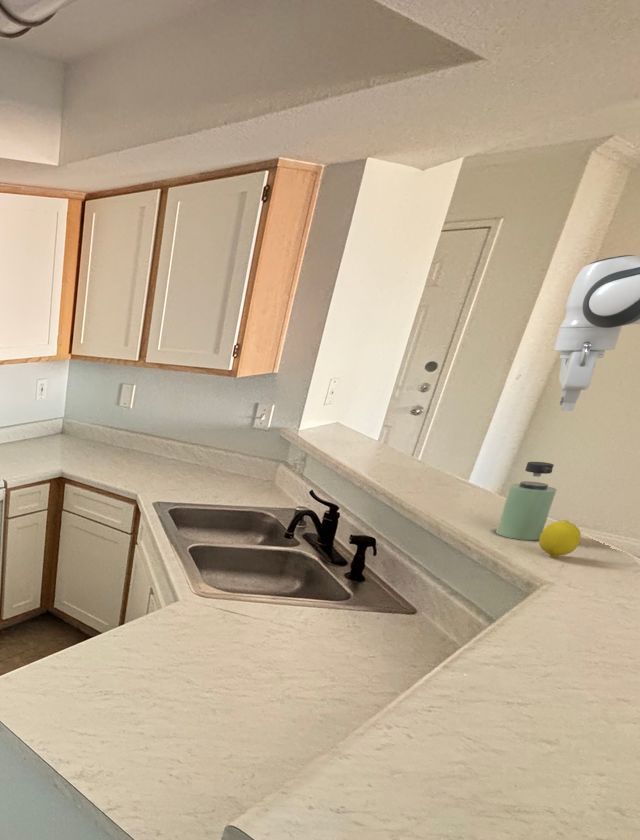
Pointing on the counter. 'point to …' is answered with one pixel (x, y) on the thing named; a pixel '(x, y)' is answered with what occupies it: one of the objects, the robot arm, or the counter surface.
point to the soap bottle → (526, 510)
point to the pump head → (539, 468)
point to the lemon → (559, 538)
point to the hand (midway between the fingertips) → (565, 407)
